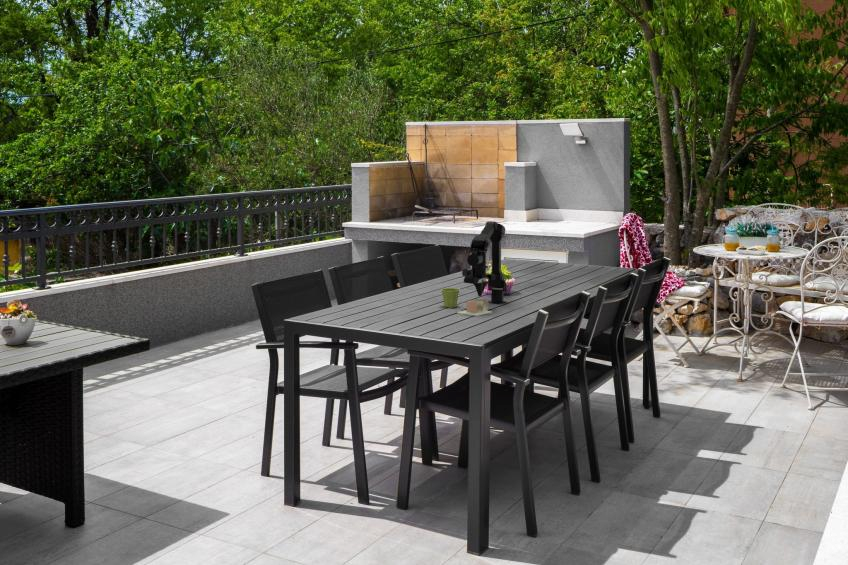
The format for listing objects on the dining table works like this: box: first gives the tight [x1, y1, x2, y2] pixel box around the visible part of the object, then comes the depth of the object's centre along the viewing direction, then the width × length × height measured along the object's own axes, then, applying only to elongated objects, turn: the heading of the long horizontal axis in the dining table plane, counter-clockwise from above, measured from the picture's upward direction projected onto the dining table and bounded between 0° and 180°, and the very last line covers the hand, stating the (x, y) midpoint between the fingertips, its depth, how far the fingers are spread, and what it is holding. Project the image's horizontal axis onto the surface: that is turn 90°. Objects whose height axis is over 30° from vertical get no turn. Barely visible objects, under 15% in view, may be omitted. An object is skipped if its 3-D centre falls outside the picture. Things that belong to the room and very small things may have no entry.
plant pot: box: [440, 287, 461, 309], centre depth 465 cm, size 9×9×9 cm
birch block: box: [466, 298, 489, 313], centre depth 451 cm, size 5×5×10 cm
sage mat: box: [456, 309, 493, 317], centre depth 449 cm, size 12×12×1 cm
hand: (479, 296), depth 452 cm, fingers closed
